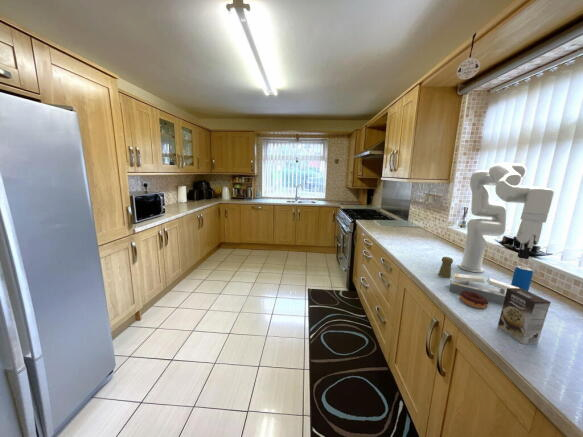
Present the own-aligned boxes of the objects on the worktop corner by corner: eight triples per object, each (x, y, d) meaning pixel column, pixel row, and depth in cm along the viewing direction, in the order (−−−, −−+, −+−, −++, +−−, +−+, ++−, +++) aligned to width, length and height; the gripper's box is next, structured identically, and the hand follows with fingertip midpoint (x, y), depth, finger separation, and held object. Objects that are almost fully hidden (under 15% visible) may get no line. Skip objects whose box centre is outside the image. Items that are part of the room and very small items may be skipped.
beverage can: (524, 288, 117) (529, 266, 115) (530, 294, 111) (536, 271, 109) (508, 285, 120) (513, 264, 117) (513, 291, 114) (519, 268, 111)
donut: (491, 312, 95) (493, 303, 94) (464, 306, 98) (465, 298, 98) (481, 300, 105) (483, 292, 104) (456, 295, 108) (457, 287, 107)
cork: (452, 278, 125) (456, 260, 123) (440, 277, 127) (444, 258, 124) (447, 274, 131) (451, 256, 129) (436, 272, 132) (439, 255, 130)
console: (449, 284, 118) (451, 274, 117) (520, 302, 104) (523, 290, 103) (450, 291, 111) (452, 280, 110) (525, 310, 97) (529, 298, 96)
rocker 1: (454, 277, 115) (454, 273, 115) (482, 279, 109) (482, 276, 109) (454, 280, 112) (454, 276, 112) (483, 283, 106) (483, 279, 106)
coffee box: (496, 326, 86) (505, 287, 82) (511, 326, 86) (521, 287, 83) (522, 344, 77) (534, 301, 73) (539, 344, 77) (551, 301, 74)
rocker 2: (487, 280, 108) (488, 277, 108) (517, 291, 103) (519, 287, 102) (488, 284, 105) (490, 280, 104) (519, 294, 100) (521, 291, 99)
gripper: (516, 213, 104) (507, 251, 108) (526, 218, 91) (515, 261, 95) (539, 215, 100) (529, 255, 104) (553, 221, 87) (541, 265, 91)
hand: (522, 257), depth 99 cm, fingers closed
